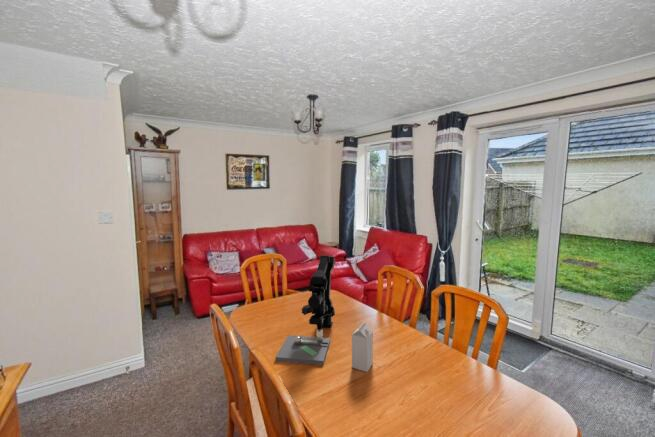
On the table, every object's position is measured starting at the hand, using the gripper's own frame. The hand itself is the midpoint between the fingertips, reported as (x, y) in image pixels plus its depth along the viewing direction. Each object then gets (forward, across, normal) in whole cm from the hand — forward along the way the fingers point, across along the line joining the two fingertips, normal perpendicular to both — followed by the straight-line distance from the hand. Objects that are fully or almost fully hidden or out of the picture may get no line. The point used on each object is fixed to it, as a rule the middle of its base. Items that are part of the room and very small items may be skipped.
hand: (319, 329), depth 152 cm
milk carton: (+6, +18, +22) cm, 29 cm away
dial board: (+6, +10, -6) cm, 13 cm away
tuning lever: (+4, +7, -3) cm, 8 cm away
